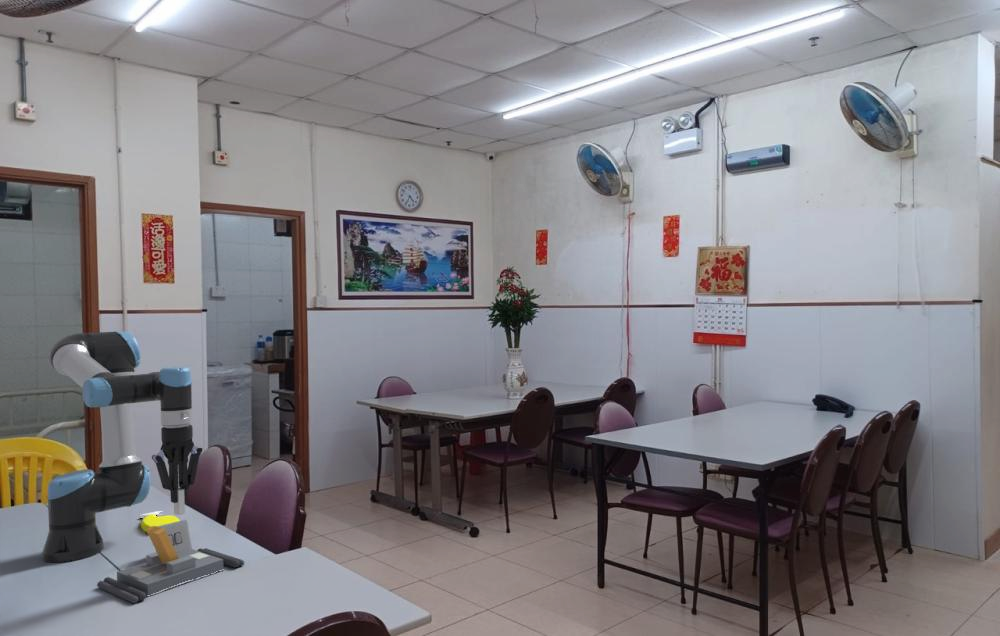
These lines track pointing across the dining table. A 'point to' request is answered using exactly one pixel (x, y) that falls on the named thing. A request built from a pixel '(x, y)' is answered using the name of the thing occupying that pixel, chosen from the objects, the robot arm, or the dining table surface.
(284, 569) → the dining table surface
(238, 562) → the cable bundle
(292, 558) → the dining table surface
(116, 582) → the cable bundle
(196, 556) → the breaker panel
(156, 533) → the lever
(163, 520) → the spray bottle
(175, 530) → the electrical switch
